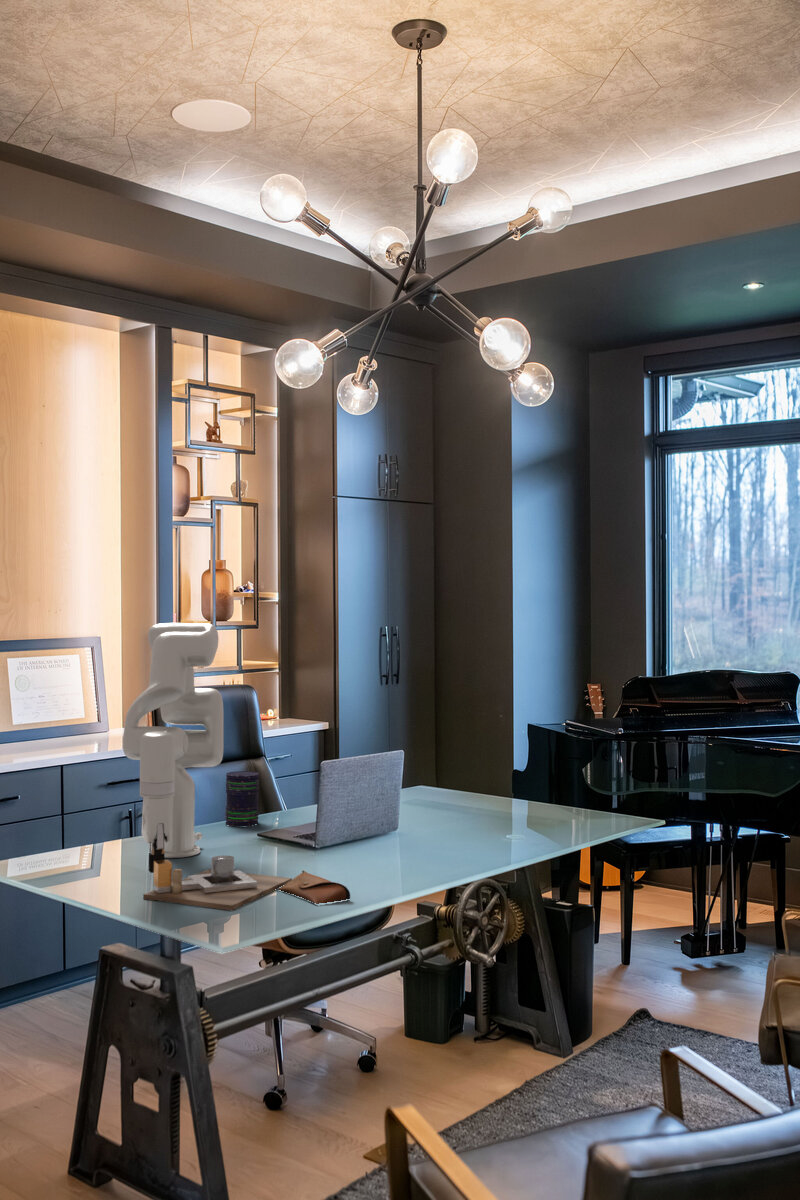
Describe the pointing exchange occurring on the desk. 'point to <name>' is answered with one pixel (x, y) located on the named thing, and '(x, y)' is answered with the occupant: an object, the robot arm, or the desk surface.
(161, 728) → the robot arm
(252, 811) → the storage jar
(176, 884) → the dowel
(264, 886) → the base board
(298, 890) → the sunglasses case
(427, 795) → the desk surface
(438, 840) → the desk surface
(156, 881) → the square frame with handle
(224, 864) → the post
